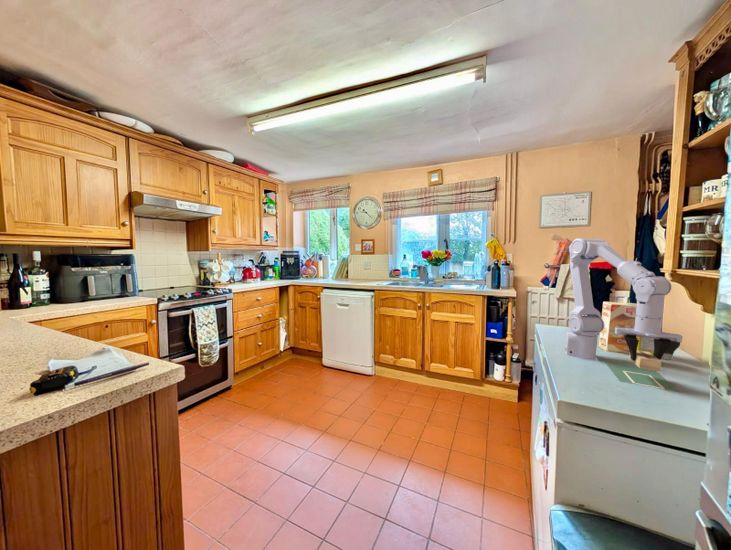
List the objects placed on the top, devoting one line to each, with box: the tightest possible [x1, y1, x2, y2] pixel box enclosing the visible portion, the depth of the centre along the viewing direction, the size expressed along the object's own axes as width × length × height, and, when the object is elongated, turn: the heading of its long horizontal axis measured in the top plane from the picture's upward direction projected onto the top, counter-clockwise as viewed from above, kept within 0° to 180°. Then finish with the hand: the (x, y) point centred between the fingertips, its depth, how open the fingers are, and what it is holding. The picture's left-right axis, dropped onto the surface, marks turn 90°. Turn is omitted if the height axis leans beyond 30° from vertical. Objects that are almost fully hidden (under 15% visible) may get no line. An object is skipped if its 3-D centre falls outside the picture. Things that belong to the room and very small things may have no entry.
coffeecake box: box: [598, 301, 637, 355], centre depth 114 cm, size 15×7×20 cm, turn 73°
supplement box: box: [636, 335, 662, 361], centre depth 103 cm, size 6×6×11 cm
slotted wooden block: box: [628, 350, 662, 372], centre depth 87 cm, size 9×4×3 cm, turn 152°
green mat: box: [604, 361, 681, 393], centre depth 91 cm, size 13×18×1 cm
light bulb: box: [662, 341, 681, 361], centre depth 106 cm, size 6×6×10 cm
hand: (644, 361), depth 87 cm, fingers closed on slotted wooden block, 4 cm apart
